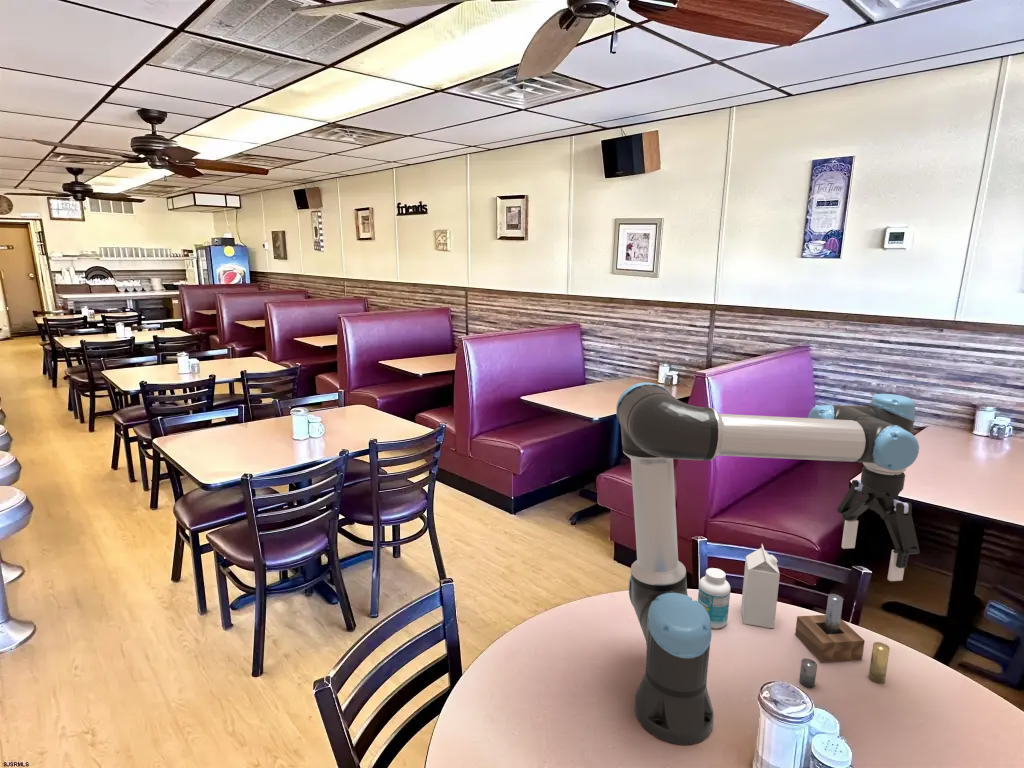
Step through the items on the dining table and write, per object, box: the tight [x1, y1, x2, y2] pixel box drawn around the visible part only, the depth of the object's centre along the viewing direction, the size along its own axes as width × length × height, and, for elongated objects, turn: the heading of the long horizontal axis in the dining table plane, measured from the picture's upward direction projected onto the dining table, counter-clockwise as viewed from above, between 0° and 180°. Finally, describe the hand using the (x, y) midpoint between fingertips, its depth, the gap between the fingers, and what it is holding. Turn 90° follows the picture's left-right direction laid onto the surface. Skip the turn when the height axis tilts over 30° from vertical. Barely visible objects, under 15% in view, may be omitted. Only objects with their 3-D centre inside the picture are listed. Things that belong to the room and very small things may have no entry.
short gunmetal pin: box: [798, 657, 818, 689], centre depth 121 cm, size 3×3×5 cm
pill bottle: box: [697, 567, 731, 630], centre depth 142 cm, size 8×7×14 cm
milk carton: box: [740, 543, 781, 629], centre depth 143 cm, size 7×7×19 cm
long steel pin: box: [824, 593, 844, 634], centre depth 132 cm, size 3×3×13 cm
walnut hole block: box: [794, 614, 865, 663], centre depth 133 cm, size 10×10×5 cm
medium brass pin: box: [868, 641, 890, 685], centre depth 123 cm, size 3×3×8 cm
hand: (870, 563), depth 121 cm, fingers open, 13 cm apart
